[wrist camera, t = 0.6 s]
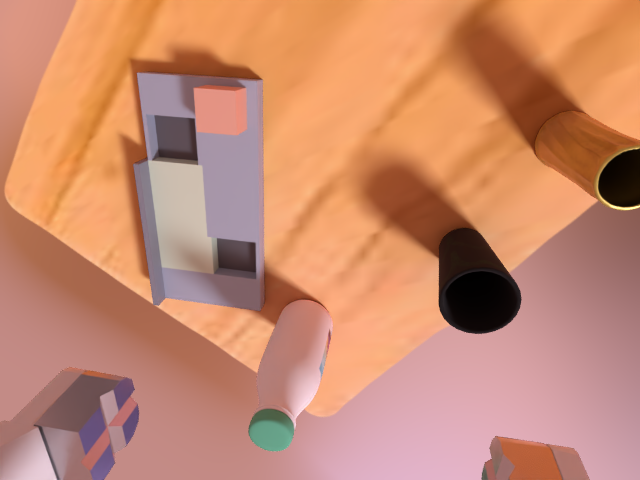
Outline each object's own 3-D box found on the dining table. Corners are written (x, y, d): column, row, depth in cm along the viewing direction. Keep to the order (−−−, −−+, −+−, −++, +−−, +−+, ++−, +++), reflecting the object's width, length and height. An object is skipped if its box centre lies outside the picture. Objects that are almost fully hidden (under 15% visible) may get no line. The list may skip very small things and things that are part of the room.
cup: (425, 271, 54) (432, 328, 43) (436, 216, 51) (446, 262, 40) (487, 279, 53) (510, 339, 42) (502, 224, 50) (531, 274, 39)
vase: (598, 105, 43) (683, 131, 30) (596, 163, 45) (674, 210, 33) (533, 117, 45) (588, 147, 32) (534, 172, 47) (586, 221, 34)
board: (140, 71, 49) (120, 73, 46) (262, 79, 47) (251, 82, 44) (167, 289, 62) (153, 304, 59) (264, 303, 60) (256, 319, 57)
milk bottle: (270, 311, 61) (217, 423, 43) (313, 288, 58) (275, 398, 40) (301, 349, 63) (263, 471, 45) (344, 329, 60) (321, 451, 42)
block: (207, 84, 47) (193, 87, 44) (246, 87, 46) (235, 90, 43) (209, 126, 49) (196, 131, 46) (247, 129, 48) (236, 135, 45)
